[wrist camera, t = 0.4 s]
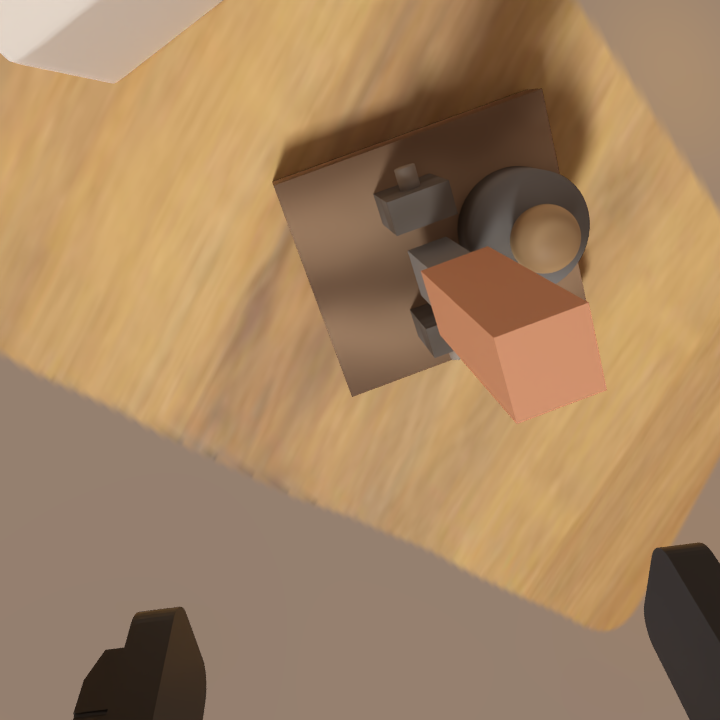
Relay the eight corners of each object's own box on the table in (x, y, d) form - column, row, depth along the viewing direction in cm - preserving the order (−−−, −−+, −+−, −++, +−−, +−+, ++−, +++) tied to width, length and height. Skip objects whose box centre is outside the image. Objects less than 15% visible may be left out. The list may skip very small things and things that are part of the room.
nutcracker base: (272, 181, 35) (278, 199, 28) (526, 89, 35) (597, 84, 28) (347, 383, 39) (369, 443, 32) (571, 299, 40) (643, 341, 32)
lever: (396, 248, 33) (493, 337, 20) (453, 227, 33) (588, 302, 20) (413, 304, 34) (516, 424, 21) (469, 283, 34) (606, 389, 21)
